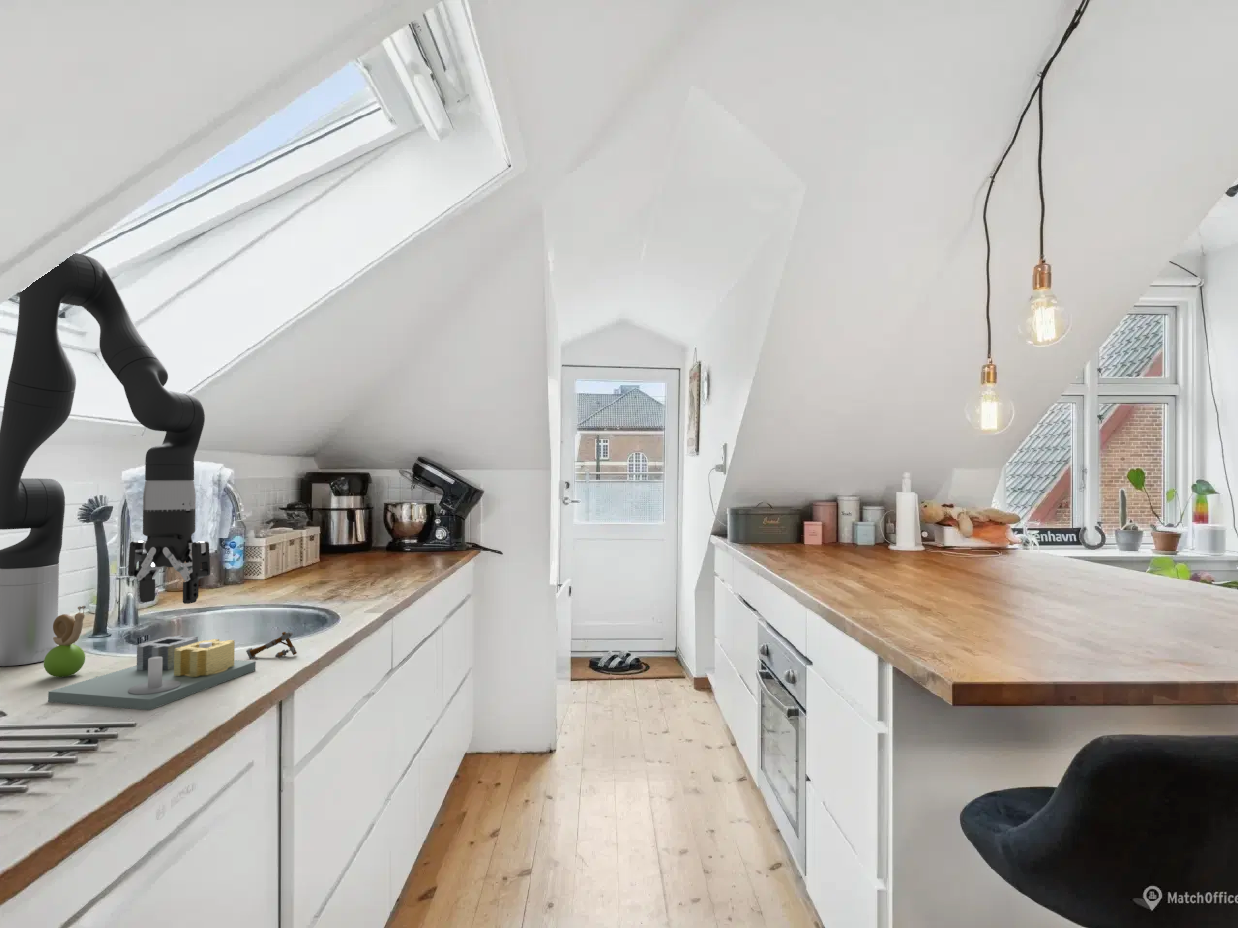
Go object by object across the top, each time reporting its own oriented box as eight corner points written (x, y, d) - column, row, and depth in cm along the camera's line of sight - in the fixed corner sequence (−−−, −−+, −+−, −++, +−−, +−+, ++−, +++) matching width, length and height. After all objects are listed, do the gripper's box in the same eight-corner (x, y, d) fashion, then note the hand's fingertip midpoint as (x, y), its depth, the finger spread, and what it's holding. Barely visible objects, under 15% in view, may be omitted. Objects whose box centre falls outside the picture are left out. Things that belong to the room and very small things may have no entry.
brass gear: (169, 675, 109) (169, 650, 109) (208, 662, 117) (208, 638, 117) (201, 677, 108) (201, 651, 108) (238, 663, 116) (239, 640, 116)
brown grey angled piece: (299, 652, 127) (289, 629, 127) (256, 672, 126) (245, 649, 126) (302, 650, 129) (292, 627, 129) (259, 669, 128) (249, 647, 128)
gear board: (48, 701, 101) (49, 661, 102) (167, 664, 122) (168, 630, 122) (149, 709, 98) (150, 667, 98) (255, 670, 118) (255, 635, 119)
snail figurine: (64, 682, 111) (66, 608, 111) (34, 680, 112) (36, 607, 113) (97, 673, 116) (99, 603, 116) (68, 671, 118) (70, 601, 118)
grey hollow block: (132, 670, 113) (132, 645, 113) (172, 657, 121) (173, 635, 121) (162, 672, 112) (163, 647, 112) (201, 659, 119) (202, 636, 120)
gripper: (114, 508, 114) (113, 605, 114) (186, 507, 112) (185, 607, 111) (154, 506, 122) (152, 597, 121) (222, 506, 119) (221, 599, 118)
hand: (168, 602), depth 116 cm, fingers open, 8 cm apart
